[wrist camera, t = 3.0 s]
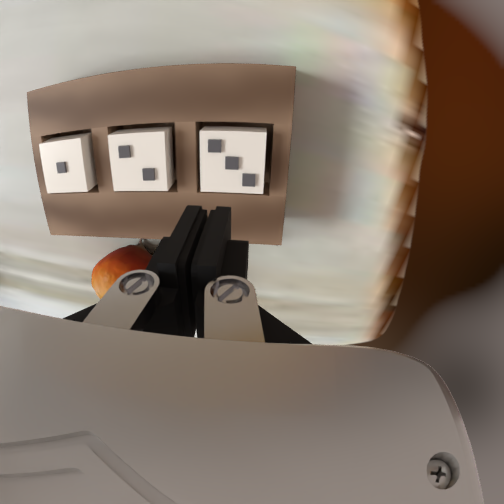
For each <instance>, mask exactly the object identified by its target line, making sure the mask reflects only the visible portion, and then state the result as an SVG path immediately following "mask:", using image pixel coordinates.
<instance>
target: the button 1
mask: <svg viewBox="0 0 504 504" xmlns="http://www.w3.org/2000/svg"><path fill="white" fill-rule="evenodd" d="M39 148H40V155H41V161H42V167H43V173H44V179H45V184H46V189H47V193H66V192H88V191H89V190H90V189H92V188H93V187H94V186H95V185H97V184H98V182H97V175H96V168H95V160H94V151H93V142H92V133H84V134H76V135H69V136H62V137H55V138H51V139H49V140H47V141H44V142H42V143H40V144H39Z"/></svg>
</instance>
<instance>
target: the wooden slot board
mask: <svg viewBox="0 0 504 504" xmlns="http://www.w3.org/2000/svg"><path fill="white" fill-rule="evenodd" d="M295 74H296V67H293V66H281V65H266V64H235V63H218V64H187V65H172V66H160V67H150V68H141V69H133V70H126V71H119V72H112V73H106V74H101V75H95V76H90V77H85V78H80V79H76V80H71V81H67V82H63V83H59V84H55V85H51V86H47V87H44V88H40V89H37V90H33V91H30V92H27V100H28V113H29V123H30V132H31V140H32V148H33V154H34V161H35V166H36V172H37V177H38V183H39V188H40V192H41V197H42V201H43V206H44V210H45V214H46V218H47V222H48V226H49V230H50V233H51V235H71V236H96V237H120V238H143V239H162V238H163V237H170V236H171V234H172V232H173V230H174V228H175V226H176V225H177V223H178V221H179V219H180V217H181V215H182V213H183V212H184V210H185V208H186V206H187V205H198V206H202V209H206V210H207V215H208V216H209V213H210V210H215V209H216V206H225V207H231V240H245V241H249V244H268V245H281V243H282V233H283V223H284V213H285V202H286V191H287V180H288V169H289V157H290V145H291V132H292V119H293V105H294V90H295ZM204 126H233V127H260V128H266V131H267V135H266V152H265V170H264V187H263V194H251V193H228V192H201V186H200V130H201V129H202V128H203V127H204ZM153 127H172V137H173V162H174V181H175V182H174V183H173V185H172V186H171V187H170V189H169V190H168V191H114V188H113V181H112V173H111V164H110V155H109V145H108V135H109V134H111V133H113V132H115V131H117V130H123V129H136V128H153ZM84 133H92V142H93V151H94V160H95V168H96V175H97V182H98V184H97V185H95V186H94V187H93V188H92V189H90V190H89V191H88V192H66V193H47V189H46V184H45V179H44V173H43V167H42V161H41V155H40V148H39V144H40V143H42V142H44V141H47V140H49V139H51V138H55V137H62V136H69V135H76V134H84Z"/></svg>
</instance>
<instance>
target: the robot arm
mask: <svg viewBox="0 0 504 504" xmlns="http://www.w3.org/2000/svg"><path fill="white" fill-rule="evenodd" d="M248 249H249V241H245V240H231V207H225V206H216V209H215V210H210V213H209V216H208V215H207V210H206V209H202V206H198V205H187V206H186V208H185V210H184V212H183V213H182V215H181V217H180V219H179V221H178V223H177V225H176V226H175V228H174V230H173V232H172V234H171V236H170V237H163V238H162V240H161V241H160V243H159V245H158V247H157V249H156V250H155V252H154V254H153V256H152V258H151V260H150V261H149V263H148V265H147V267H146V269H145V270H133V271H130V272H127V273H125V274H123V275H121V276H120V277H119V278H118V279H117V280H116V281H115V282H114V284H113V285H112V286H111V287H110V288H109V290H108V291H107V292H106V293H105V295H104V296H103V297H102V298H101V299H100V301H99V302H98V303H97V304H95V305H92V306H90V307H88V308H86V309H83V310H81V311H79V312H77V313H74V314H72V315H70V316H68V317H65V318H63V319H61V318H56V317H51V316H46V315H41V314H36V313H31V312H27V311H22V310H18V309H12V308H7V307H2V306H0V504H484V500H483V495H482V490H481V485H480V480H479V476H478V471H477V467H476V463H475V459H474V455H473V451H472V447H471V444H470V441H469V438H468V435H467V432H466V429H465V426H464V423H463V420H462V417H461V415H460V412H459V410H458V408H457V405H456V403H455V401H454V399H453V397H452V395H451V393H450V391H449V389H448V387H447V386H446V384H445V382H444V381H443V379H442V378H441V377H440V376H439V374H438V373H437V372H436V371H435V370H434V369H433V368H432V367H430V366H429V365H427V364H426V363H424V362H422V361H420V360H418V359H416V358H414V357H411V356H408V355H405V354H401V353H398V352H394V351H390V350H384V349H378V348H372V347H361V346H346V345H316V344H312V343H310V342H309V341H308V340H306V339H305V338H303V337H302V336H300V335H299V334H298V333H296V332H295V331H293V330H292V329H291V328H289V327H288V326H286V325H285V324H284V323H282V322H281V321H279V320H278V319H277V318H275V317H274V316H272V315H271V314H270V313H268V312H267V311H266V310H264V309H263V308H261V307H260V306H259V305H258V303H257V297H256V292H255V288H254V286H253V284H252V283H251V282H249V281H248V280H247V271H248ZM196 329H197V337H198V338H195V337H194V335H195V331H196Z"/></svg>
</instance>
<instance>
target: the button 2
mask: <svg viewBox="0 0 504 504" xmlns="http://www.w3.org/2000/svg"><path fill="white" fill-rule="evenodd" d="M108 145H109V155H110V164H111V173H112V181H113V188H114V191H168V190H169V189H170V187H171V186H172V185H173V183H174V182H175V181H174V162H173V137H172V127H153V128H136V129H123V130H117V131H115V132H113V133H111V134H109V135H108Z"/></svg>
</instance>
